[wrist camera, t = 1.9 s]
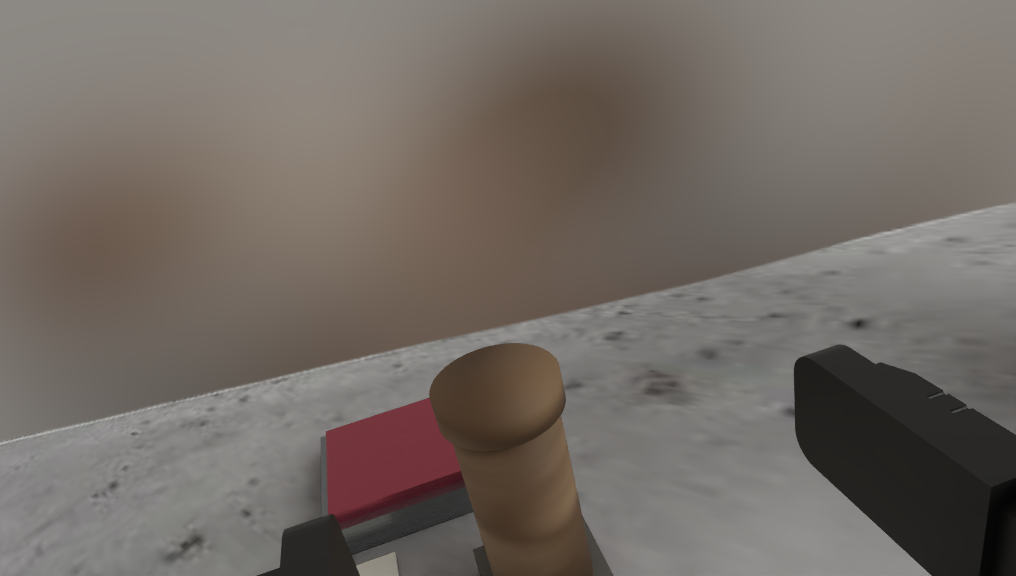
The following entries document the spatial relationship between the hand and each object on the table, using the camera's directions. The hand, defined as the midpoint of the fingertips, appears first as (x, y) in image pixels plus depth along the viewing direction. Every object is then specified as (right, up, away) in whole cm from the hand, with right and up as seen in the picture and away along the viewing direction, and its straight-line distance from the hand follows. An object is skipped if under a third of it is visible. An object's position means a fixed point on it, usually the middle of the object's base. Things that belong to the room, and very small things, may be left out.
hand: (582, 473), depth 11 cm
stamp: (0, -10, +17) cm, 19 cm away
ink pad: (-7, -7, +25) cm, 27 cm away
